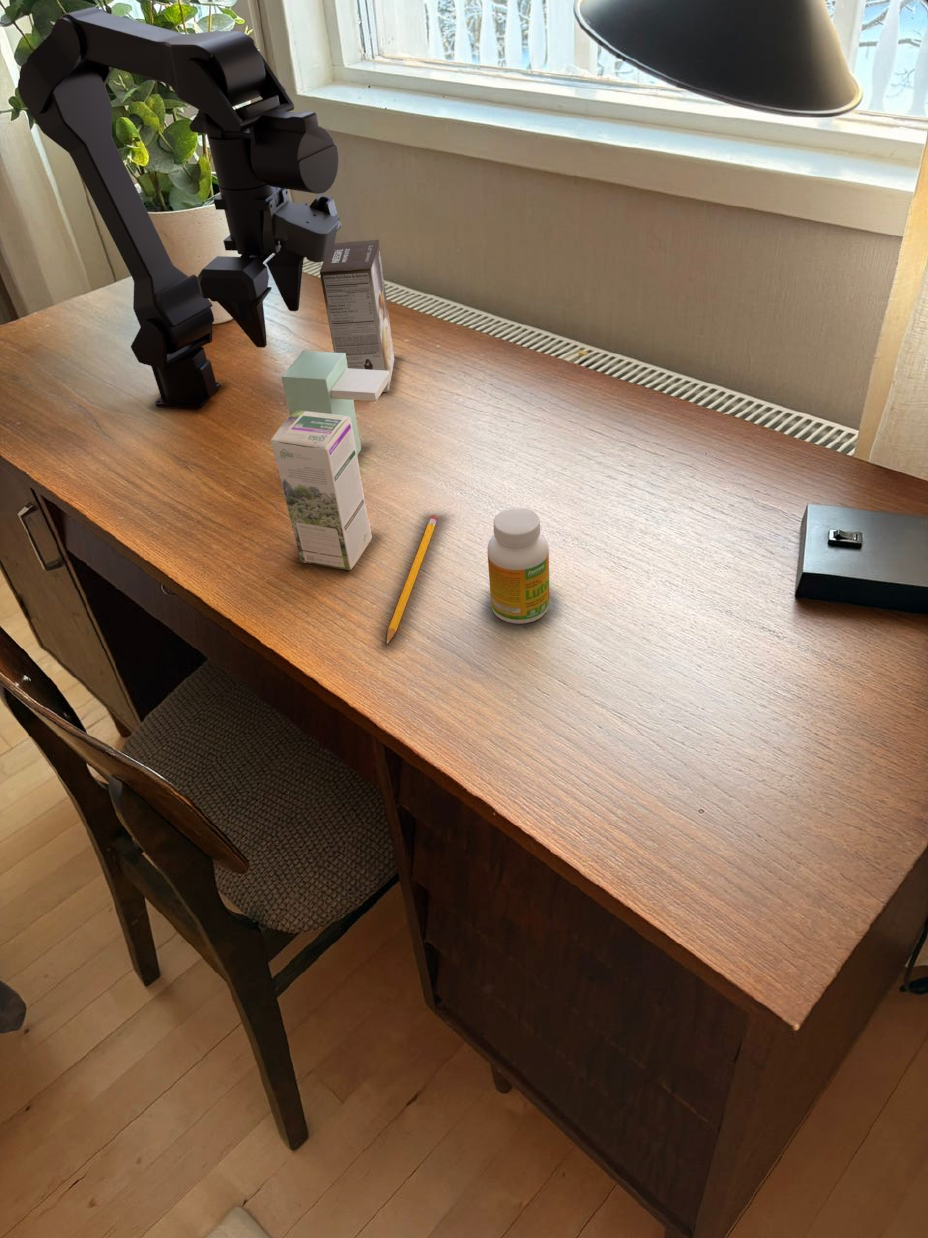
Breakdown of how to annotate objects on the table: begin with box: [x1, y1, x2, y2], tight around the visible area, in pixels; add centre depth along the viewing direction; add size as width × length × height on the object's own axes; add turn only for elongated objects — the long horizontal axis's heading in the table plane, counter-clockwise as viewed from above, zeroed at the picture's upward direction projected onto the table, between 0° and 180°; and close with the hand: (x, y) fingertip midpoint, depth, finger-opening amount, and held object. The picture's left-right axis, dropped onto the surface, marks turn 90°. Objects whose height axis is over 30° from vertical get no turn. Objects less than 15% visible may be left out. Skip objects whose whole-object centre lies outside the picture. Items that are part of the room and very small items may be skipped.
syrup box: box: [270, 410, 373, 571], centre depth 90 cm, size 6×6×14 cm
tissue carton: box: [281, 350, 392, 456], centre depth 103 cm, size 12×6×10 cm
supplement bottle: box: [487, 507, 550, 625], centre depth 84 cm, size 5×5×10 cm
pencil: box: [386, 514, 439, 644], centre depth 91 cm, size 1×19×1 cm, turn 168°
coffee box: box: [319, 239, 395, 393], centre depth 117 cm, size 9×6×16 cm
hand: (278, 328), depth 105 cm, fingers open, 9 cm apart
